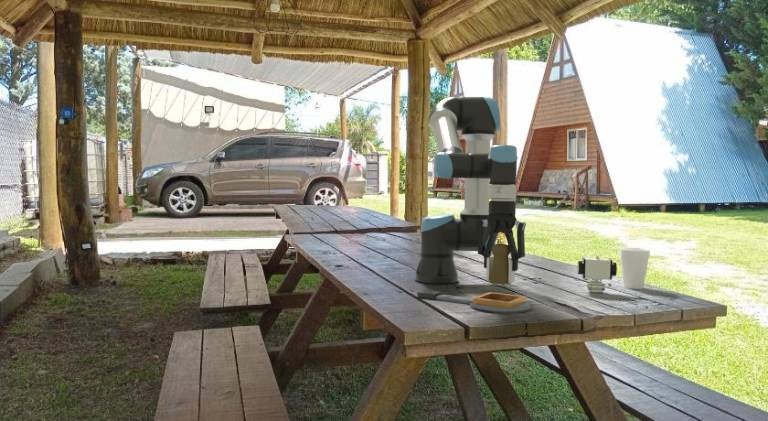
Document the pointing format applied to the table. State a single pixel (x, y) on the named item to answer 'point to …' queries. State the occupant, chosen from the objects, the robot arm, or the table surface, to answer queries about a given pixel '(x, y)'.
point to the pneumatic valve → (596, 272)
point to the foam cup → (634, 266)
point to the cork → (500, 264)
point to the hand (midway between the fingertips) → (500, 280)
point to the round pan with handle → (485, 301)
